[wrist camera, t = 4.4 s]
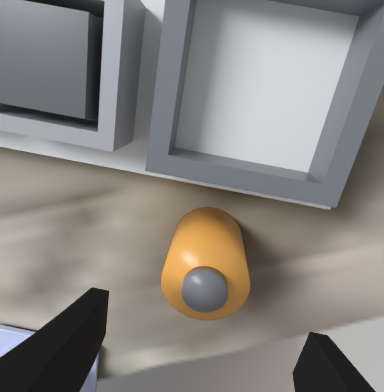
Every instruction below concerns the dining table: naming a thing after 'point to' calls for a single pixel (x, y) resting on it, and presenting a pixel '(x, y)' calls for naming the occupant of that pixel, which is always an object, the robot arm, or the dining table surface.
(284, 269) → the dining table surface
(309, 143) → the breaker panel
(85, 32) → the dark grey square block
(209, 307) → the cap
